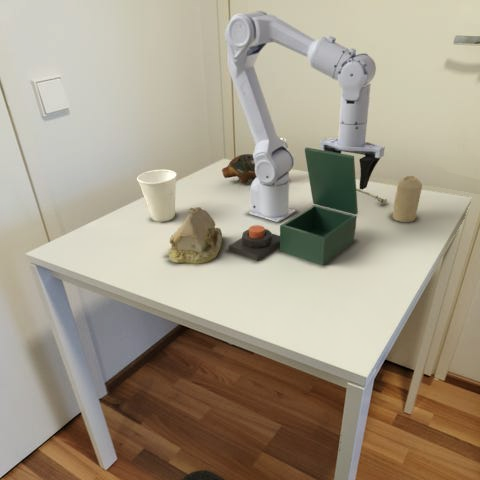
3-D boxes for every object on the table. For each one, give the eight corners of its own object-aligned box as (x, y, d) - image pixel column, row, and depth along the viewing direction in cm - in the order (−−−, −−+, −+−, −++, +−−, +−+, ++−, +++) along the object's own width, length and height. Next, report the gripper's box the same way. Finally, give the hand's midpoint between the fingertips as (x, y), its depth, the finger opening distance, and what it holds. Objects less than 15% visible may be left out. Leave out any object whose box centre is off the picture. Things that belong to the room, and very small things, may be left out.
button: (245, 236, 101) (245, 229, 100) (255, 230, 103) (255, 223, 102) (258, 241, 99) (258, 233, 98) (268, 234, 101) (268, 227, 100)
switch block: (229, 251, 102) (228, 238, 100) (257, 234, 108) (257, 221, 106) (256, 261, 98) (256, 248, 96) (284, 242, 104) (284, 230, 102)
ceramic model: (208, 268, 96) (203, 224, 90) (161, 261, 99) (154, 219, 93) (230, 238, 107) (227, 198, 101) (186, 233, 110) (182, 194, 104)
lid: (352, 157, 88) (354, 155, 88) (304, 149, 94) (306, 147, 94) (356, 214, 99) (357, 212, 99) (313, 203, 105) (314, 202, 105)
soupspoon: (330, 183, 135) (314, 190, 132) (330, 172, 133) (314, 179, 130) (392, 201, 120) (376, 209, 117) (393, 189, 118) (377, 197, 115)
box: (322, 265, 95) (324, 238, 91) (279, 251, 101) (279, 225, 97) (353, 241, 103) (356, 215, 99) (312, 229, 109) (313, 204, 105)
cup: (137, 222, 117) (129, 180, 110) (156, 208, 124) (150, 167, 117) (170, 227, 113) (164, 184, 107) (188, 212, 121) (183, 171, 114)
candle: (416, 222, 109) (424, 182, 103) (392, 221, 110) (399, 181, 104) (414, 213, 114) (422, 174, 108) (391, 212, 115) (398, 173, 109)
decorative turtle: (276, 183, 135) (275, 156, 129) (226, 191, 133) (223, 165, 128) (268, 170, 142) (267, 145, 137) (221, 179, 141) (218, 153, 136)
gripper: (394, 120, 93) (385, 185, 101) (333, 114, 101) (329, 174, 109) (378, 128, 89) (370, 195, 97) (315, 121, 97) (313, 183, 105)
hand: (347, 184), depth 103 cm, fingers open, 7 cm apart
